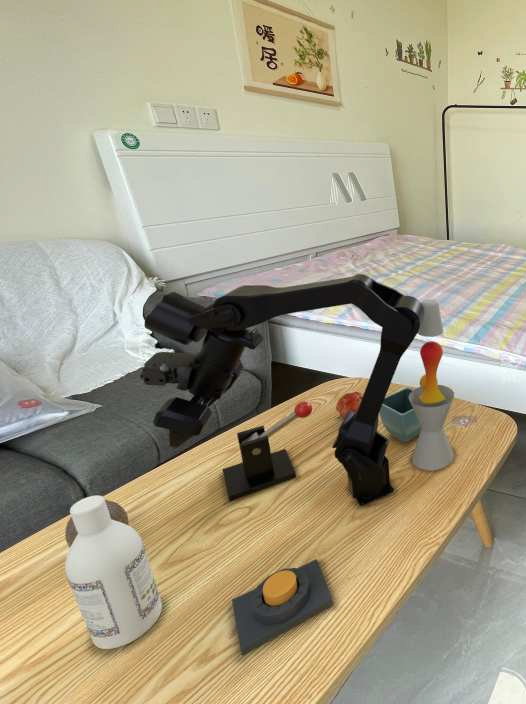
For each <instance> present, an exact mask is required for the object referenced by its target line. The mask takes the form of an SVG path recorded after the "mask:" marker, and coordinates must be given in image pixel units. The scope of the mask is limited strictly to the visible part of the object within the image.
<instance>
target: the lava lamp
mask: <svg viewBox="0 0 526 704" xmlns="http://www.w3.org/2000/svg"><path fill="white" fill-rule="evenodd" d="M421 303H422V305H423V307H424V311H425V312H424V317H423V320H422V323H421V326H420V329H419V331H418V333H417V335H419V336H421V337H425V338H432V337H433V338H434V337H438V336H441V335H443V333H444V327H443V321H442V317H441V316H442V315H441V309H440V304H439V301H437V300H436V299H434V298H433V299H431V298H429V299H424V300H422V301H421ZM443 354H444V351H443V347H442V345H441V344H440V343H438V342H437V341H434V340H433V341H432V340H430V341H427V342H425V343H423V345H422V346H421V347H420V350H419V355H420V358H421V361H422V364H423V368H424V371H425V374H423V375H422V376H421V377H420V379H419V387H416V388H415V389H413V391H412V392H411V393H410V394H409V400H410V403H411V405H412V407H413V410H414V412H415V414H416V416H417V418H418V421H419V423H420V425H421V427H422V429H421V432H420V434H419V435H418V438H417V441H416V444H415V447H414V450H413V454H412V457H411V462H412V464H413V465H415V467H416V468H418V469H420V470H422V471H427V472H428V471H438V470H442V469H444V468H446V467H448V466H449V465H450V464H451V463H452V461H453V460H454V451H453V449H452V446H451V444H450V441H449V438H448V436H447V433H446V430H445V427H444V425H445V422H446V420H447V417H448V414H449V412H450V409H451V406H452V404H453V402H454V399H455V392H454V391H453V389H452V388H450V387H449V386H446V385H443V384H438V383H439V382H438V381H439V380H438V377H437V372H438V369H439V365H440V363H441V360H442V358H443Z"/></svg>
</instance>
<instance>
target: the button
mask: <svg viewBox="0 0 526 704" xmlns="http://www.w3.org/2000/svg"><path fill="white" fill-rule="evenodd" d="M279 571H280V570H279ZM276 572H277V573H276ZM276 572H274V573H275V574H274V575H272V576H271V577H270V578H268V579H267V581H266V582H265V584H264V586H263V595H264V600H265V602H266V604H268V605H270V606H279V605H282V604H284V603H286V602H288V601H289V600H290V599H291V598H292V597H293V596H294V595H295V593H296V591H297V581H296V576H295V574H294V573H293V572H292V571H288V570H285V571H280V572H278V571H276Z"/></svg>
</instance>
